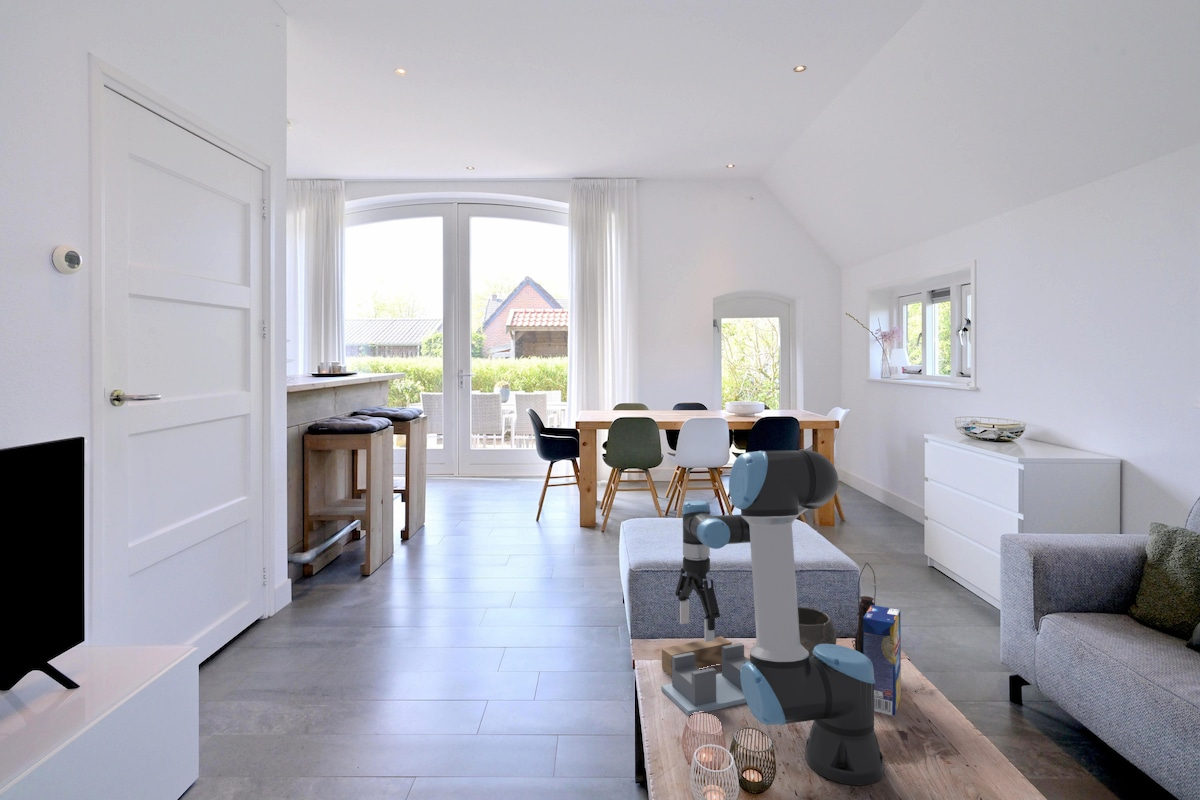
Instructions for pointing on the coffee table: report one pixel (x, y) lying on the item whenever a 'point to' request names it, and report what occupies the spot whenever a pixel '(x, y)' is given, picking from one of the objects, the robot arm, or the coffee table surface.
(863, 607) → the lantern
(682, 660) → the bracket
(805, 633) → the bowl
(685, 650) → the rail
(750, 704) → the robot arm
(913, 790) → the coffee table surface
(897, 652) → the beverage box
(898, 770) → the coffee table surface
